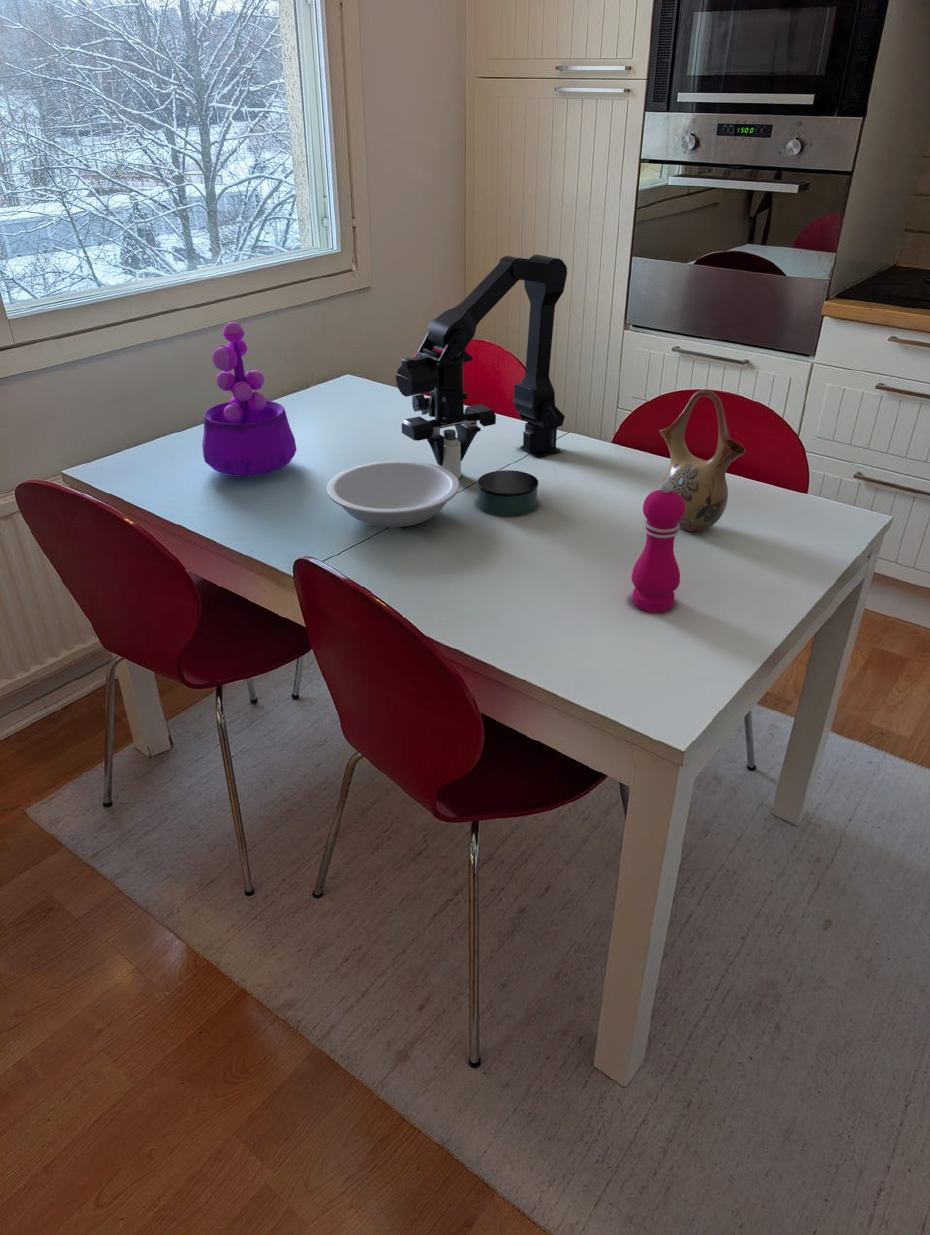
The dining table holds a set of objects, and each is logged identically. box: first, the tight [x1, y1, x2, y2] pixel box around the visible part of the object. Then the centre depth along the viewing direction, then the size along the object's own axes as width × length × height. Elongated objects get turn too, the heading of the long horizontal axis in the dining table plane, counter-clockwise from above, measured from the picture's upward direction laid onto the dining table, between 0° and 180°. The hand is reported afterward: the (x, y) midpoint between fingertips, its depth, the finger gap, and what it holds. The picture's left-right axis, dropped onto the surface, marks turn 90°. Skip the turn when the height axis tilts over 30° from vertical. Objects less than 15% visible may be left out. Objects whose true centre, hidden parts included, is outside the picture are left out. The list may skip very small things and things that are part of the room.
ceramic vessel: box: [658, 389, 747, 533], centre depth 154 cm, size 16×9×25 cm, turn 45°
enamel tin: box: [477, 469, 539, 517], centre depth 168 cm, size 11×11×5 cm
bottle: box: [438, 429, 462, 479], centre depth 179 cm, size 4×4×10 cm
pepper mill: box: [630, 481, 685, 613], centre depth 132 cm, size 7×7×20 cm
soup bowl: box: [326, 460, 461, 528], centre depth 163 cm, size 24×24×7 cm
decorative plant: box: [201, 321, 298, 477], centre depth 178 cm, size 19×18×30 cm
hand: (450, 463), depth 180 cm, fingers closed on bottle, 4 cm apart
